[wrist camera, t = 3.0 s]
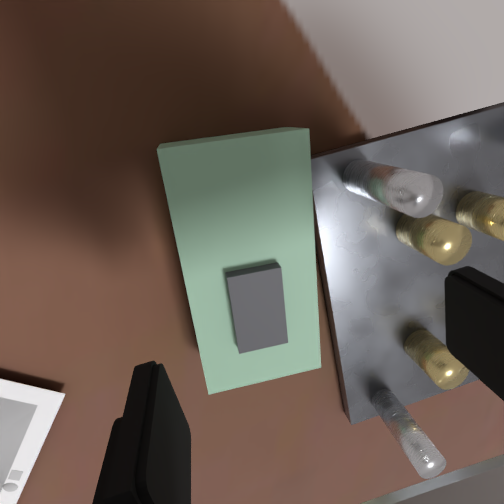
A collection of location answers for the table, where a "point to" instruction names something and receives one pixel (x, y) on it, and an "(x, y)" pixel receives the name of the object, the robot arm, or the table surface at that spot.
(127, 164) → the table surface
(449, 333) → the robot arm
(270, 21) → the table surface
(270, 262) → the green block
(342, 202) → the chassis
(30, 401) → the touchpad
